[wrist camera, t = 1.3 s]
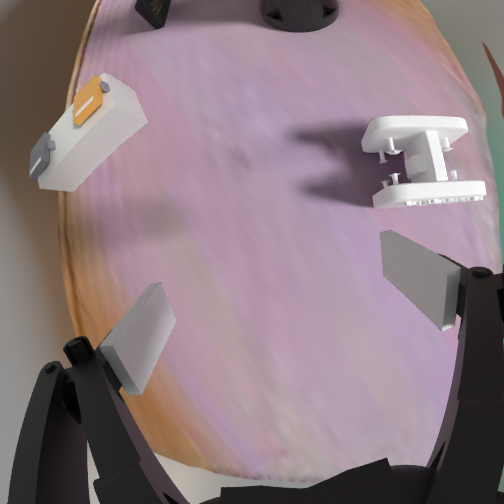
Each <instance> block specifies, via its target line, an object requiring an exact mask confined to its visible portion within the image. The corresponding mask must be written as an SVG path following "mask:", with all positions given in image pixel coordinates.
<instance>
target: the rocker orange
mask: <svg viewBox="0 0 504 504" xmlns="http://www.w3.org/2000/svg"><path fill="white" fill-rule="evenodd" d="M101 81H102V80H101V78H99V77H98V76H97V75H95V76H94V77H93V78H92V79H91V80H90V81H89V82H88V83H87V84H86V85H85V86H84V87H83V88H82V89H81V90H80V91H79V92H78V93H77V94H76V96H75V97H74V108H73V122H74V123H76V124H78V125H79V126H80V125H81V124H82V123H83V122H84V120H85V119H86V118H87V117H88V116H89V115H90V114H91V113H92V112H93V111H94V110H95V109H96V108H97V107H98V106H99V105H100V104H101V103H102V102H103V95H102V89H101V85H100V82H101Z"/></svg>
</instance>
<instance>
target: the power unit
mask: <svg viewBox="0 0 504 504" xmlns="http://www.w3.org/2000/svg"><path fill="white" fill-rule="evenodd" d="M99 78H101V80H102V81H101V82H100V85H101V89H102V95H103V102H102V103H101V104H100V105H99V106H98V107H97V108H96V109H95V110H94V111H93V112H92V113H91V114H90V115H89V116H88V117H87V118H86V119H85V120H84V122H83V123H82V124H81V125H80V126H79V125H78V124H76V123H74V122H73V108H74V103H73V104H72V105H71V106H70V108H69V109H68V110H67V111H66V112H65V113H64V115H63V116H62V117H61V118H60V119H59V120H58V122H57V123H56V124H55V125H54V126H53V128H52V129H51V131H50V132H49V133H48V134H50V140H48V141H47V144H48V149H49V163H48V164H47V165H46V166H45V168H44V169H43V170H42V172H41V173H40V175H39V176H38V182H39V187H40V189H48V190H58V191H68V192H74V191H75V190H76V189H77V188H78V186H79V185H80V184H81V183H82V182H83V181H84V180H85V179H86V178H87V177H88V176H89V175H90V174H91V173H92V172H93V171H94V170H95V169H96V168H97V167H98V166H99V165H100V164H101V163H102V162H103V161H104V160H105V159H106V158H107V157H108V156H110V155H111V154H112V153H113V152H114V151H115V150H116V149H117V148H118V147H119V146H120V145H122V144H123V143H124V142H125V141H126V140H127V139H128V138H130V137H131V136H132V135H133V134H134V133H136V132H137V131H138V130H139V129H140V128H142V127H143V126H144V125H145V124H147V123H148V121H147V119H146V117H145V114H144V112H143V110H142V107H141V105H140V103H139V100H138V98H137V95H136V93H135V91H134V90H133V89H131V88H130V87H128V86H127V85H125V84H123V83H122V82H120V81H119V80H117V79H115V78H114V77H112V76H111V75H109V74H107V73H106V72H104V73H103V74H102V75H101V76H100V77H99Z"/></svg>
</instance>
